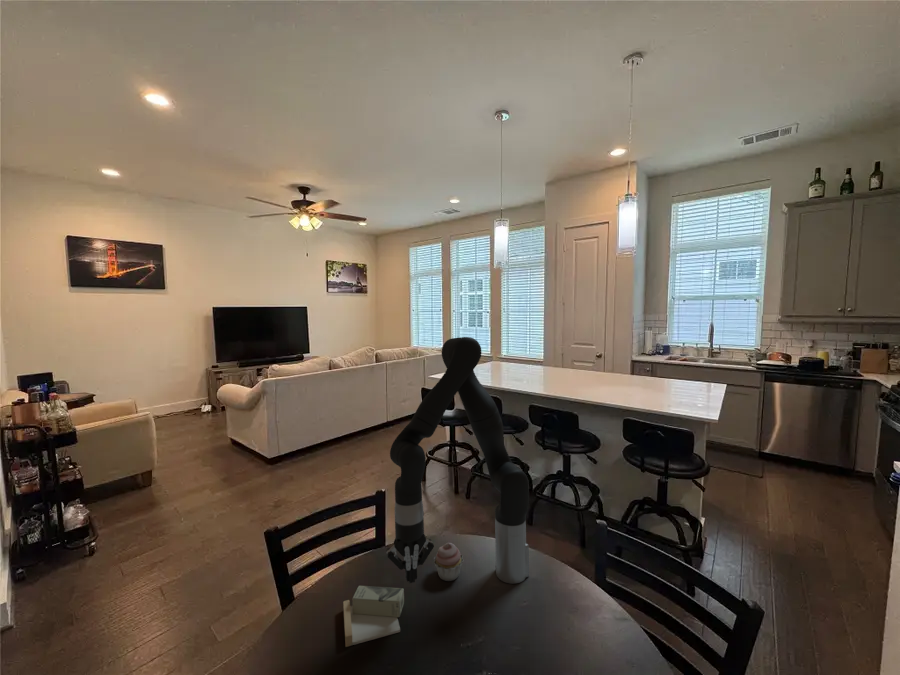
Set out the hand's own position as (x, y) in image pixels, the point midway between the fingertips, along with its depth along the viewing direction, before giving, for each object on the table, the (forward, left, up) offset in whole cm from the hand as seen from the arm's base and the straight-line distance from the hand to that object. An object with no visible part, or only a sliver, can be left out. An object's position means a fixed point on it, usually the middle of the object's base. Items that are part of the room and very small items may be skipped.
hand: (411, 580), depth 97 cm
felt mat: (+10, -1, -9) cm, 13 cm away
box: (+2, -1, -6) cm, 6 cm away
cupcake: (-14, -11, -9) cm, 20 cm away
